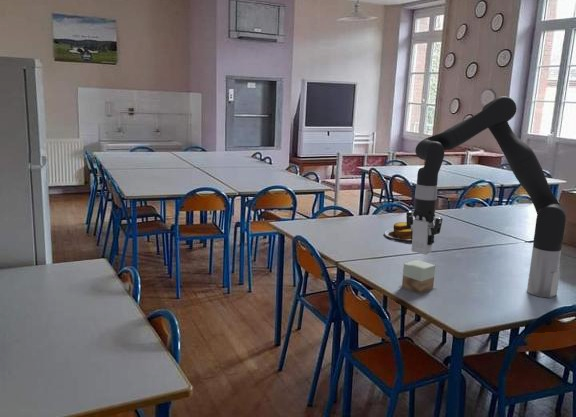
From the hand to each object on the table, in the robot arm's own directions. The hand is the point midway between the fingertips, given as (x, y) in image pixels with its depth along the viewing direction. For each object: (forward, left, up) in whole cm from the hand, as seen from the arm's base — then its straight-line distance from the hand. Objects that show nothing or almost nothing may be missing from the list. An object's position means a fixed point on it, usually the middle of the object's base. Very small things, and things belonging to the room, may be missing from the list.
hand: (421, 242), depth 193 cm
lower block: (0, 0, -17) cm, 17 cm away
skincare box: (0, 0, -4) cm, 4 cm away
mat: (0, 0, -18) cm, 18 cm away
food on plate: (+47, -59, -18) cm, 78 cm away
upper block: (0, 0, -13) cm, 13 cm away
